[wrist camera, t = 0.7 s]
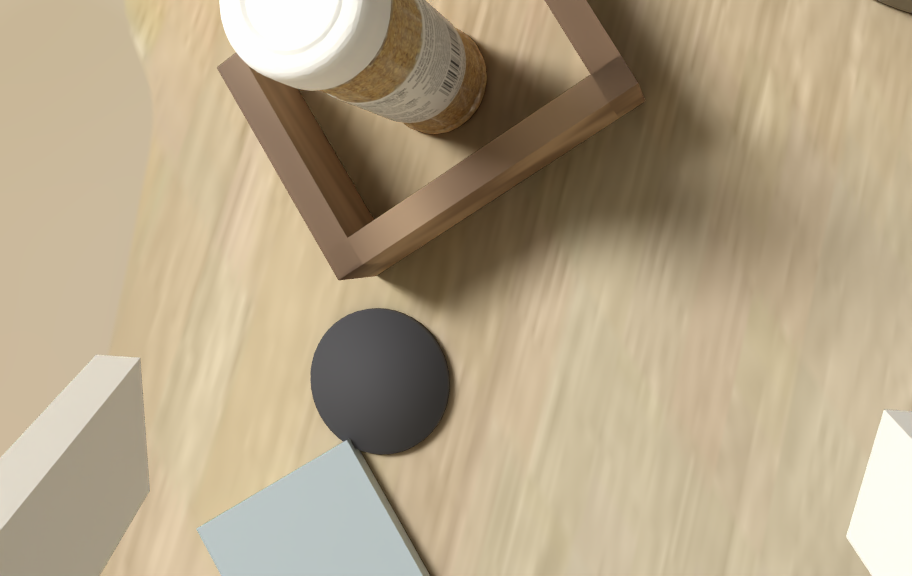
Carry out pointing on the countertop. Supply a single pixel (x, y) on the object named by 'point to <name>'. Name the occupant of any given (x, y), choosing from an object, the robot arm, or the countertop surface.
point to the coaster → (315, 525)
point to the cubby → (454, 192)
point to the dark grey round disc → (380, 380)
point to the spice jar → (364, 55)
